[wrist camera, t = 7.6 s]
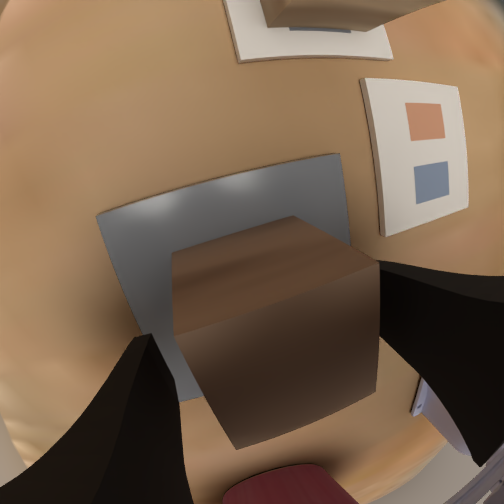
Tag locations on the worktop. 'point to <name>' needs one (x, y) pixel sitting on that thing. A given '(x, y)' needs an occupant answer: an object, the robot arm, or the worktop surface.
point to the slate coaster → (211, 234)
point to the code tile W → (416, 151)
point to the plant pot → (289, 488)
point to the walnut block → (277, 326)
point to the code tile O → (298, 38)
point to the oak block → (338, 12)
